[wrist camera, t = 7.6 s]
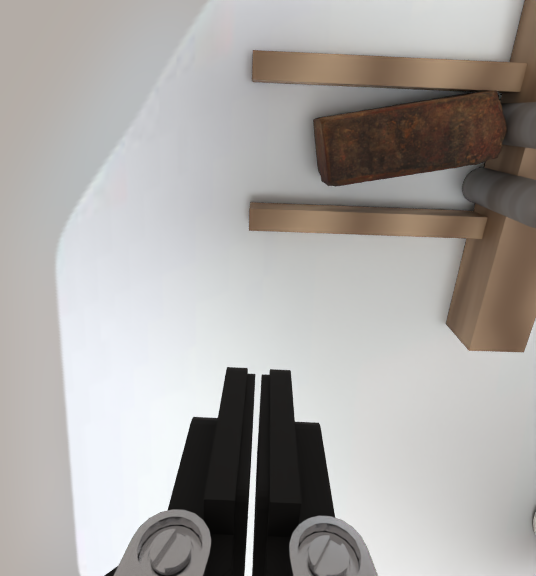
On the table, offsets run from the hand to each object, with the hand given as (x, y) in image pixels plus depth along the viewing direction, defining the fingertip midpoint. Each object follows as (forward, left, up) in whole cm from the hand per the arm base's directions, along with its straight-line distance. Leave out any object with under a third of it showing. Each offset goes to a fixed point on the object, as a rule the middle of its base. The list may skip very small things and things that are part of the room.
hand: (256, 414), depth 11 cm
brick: (-9, -6, -21) cm, 23 cm away
